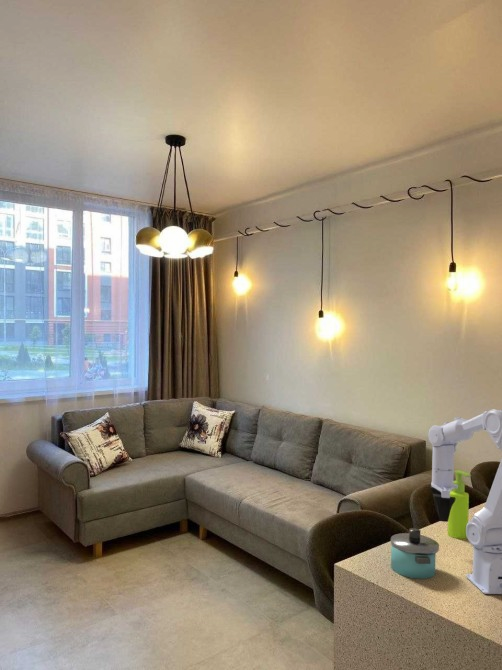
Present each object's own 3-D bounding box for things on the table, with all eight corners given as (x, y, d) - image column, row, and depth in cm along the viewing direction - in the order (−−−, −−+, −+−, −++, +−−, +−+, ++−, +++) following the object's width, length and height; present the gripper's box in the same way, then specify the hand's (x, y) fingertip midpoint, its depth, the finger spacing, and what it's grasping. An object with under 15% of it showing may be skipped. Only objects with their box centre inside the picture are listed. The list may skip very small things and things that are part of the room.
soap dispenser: (460, 541, 152) (461, 474, 152) (443, 533, 158) (444, 469, 159) (474, 538, 154) (476, 473, 155) (457, 531, 160) (459, 468, 161)
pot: (445, 582, 124) (445, 557, 124) (401, 581, 123) (402, 557, 124) (422, 557, 138) (423, 536, 138) (383, 557, 138) (383, 535, 138)
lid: (443, 543, 133) (443, 528, 133) (433, 559, 123) (433, 542, 123) (398, 533, 140) (398, 519, 140) (384, 547, 129) (385, 531, 129)
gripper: (462, 475, 134) (461, 527, 134) (454, 464, 148) (453, 510, 148) (434, 473, 136) (433, 523, 135) (428, 462, 150) (427, 507, 149)
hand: (441, 516), depth 142 cm, fingers open, 7 cm apart
